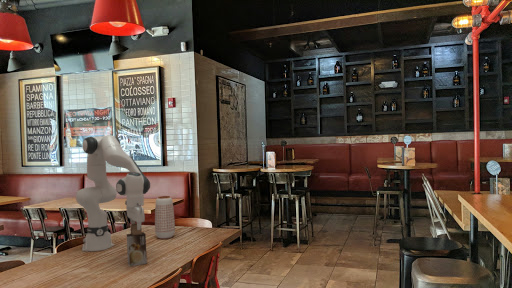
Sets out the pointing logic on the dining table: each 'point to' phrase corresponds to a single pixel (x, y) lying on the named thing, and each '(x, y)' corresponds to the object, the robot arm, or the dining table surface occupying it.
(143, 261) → the coffee box
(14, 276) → the dining table surface
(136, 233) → the walnut block
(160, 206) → the grey textured vase
